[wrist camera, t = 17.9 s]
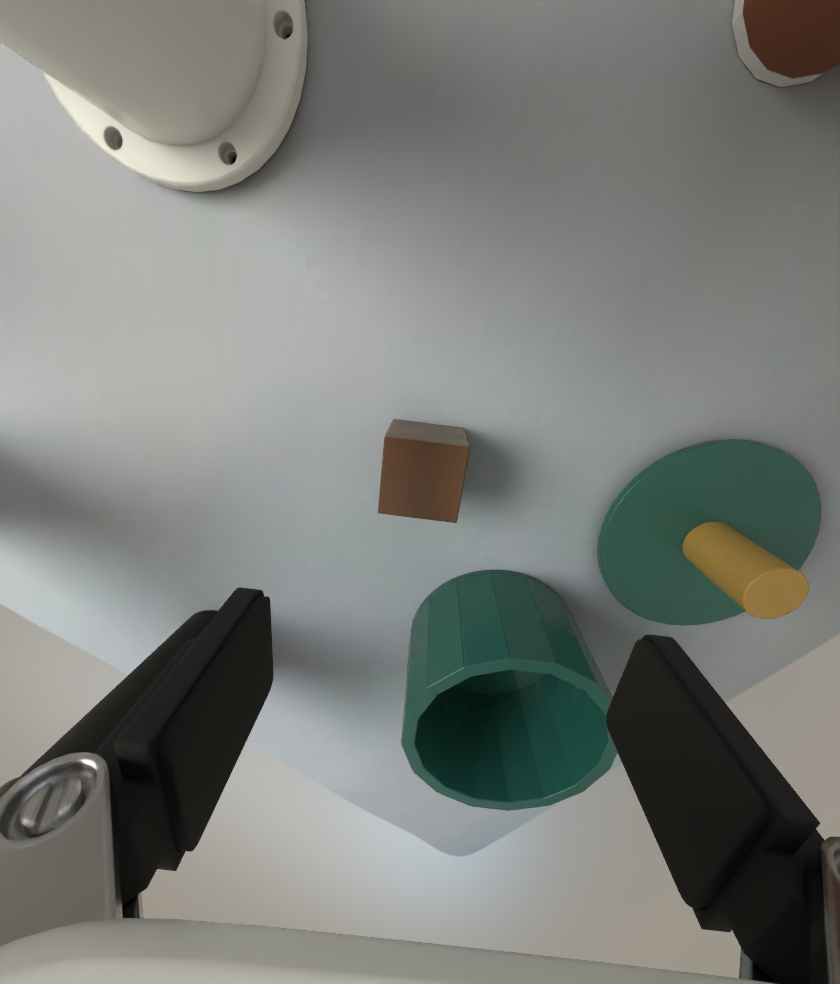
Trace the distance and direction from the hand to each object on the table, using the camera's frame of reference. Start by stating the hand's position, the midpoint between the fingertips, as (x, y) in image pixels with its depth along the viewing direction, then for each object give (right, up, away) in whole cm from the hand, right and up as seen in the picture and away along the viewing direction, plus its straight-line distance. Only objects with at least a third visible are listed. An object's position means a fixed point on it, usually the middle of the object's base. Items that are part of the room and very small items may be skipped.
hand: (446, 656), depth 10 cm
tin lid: (+18, +1, +16) cm, 24 cm away
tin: (+5, -7, +21) cm, 22 cm away
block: (0, +6, +15) cm, 17 cm away
